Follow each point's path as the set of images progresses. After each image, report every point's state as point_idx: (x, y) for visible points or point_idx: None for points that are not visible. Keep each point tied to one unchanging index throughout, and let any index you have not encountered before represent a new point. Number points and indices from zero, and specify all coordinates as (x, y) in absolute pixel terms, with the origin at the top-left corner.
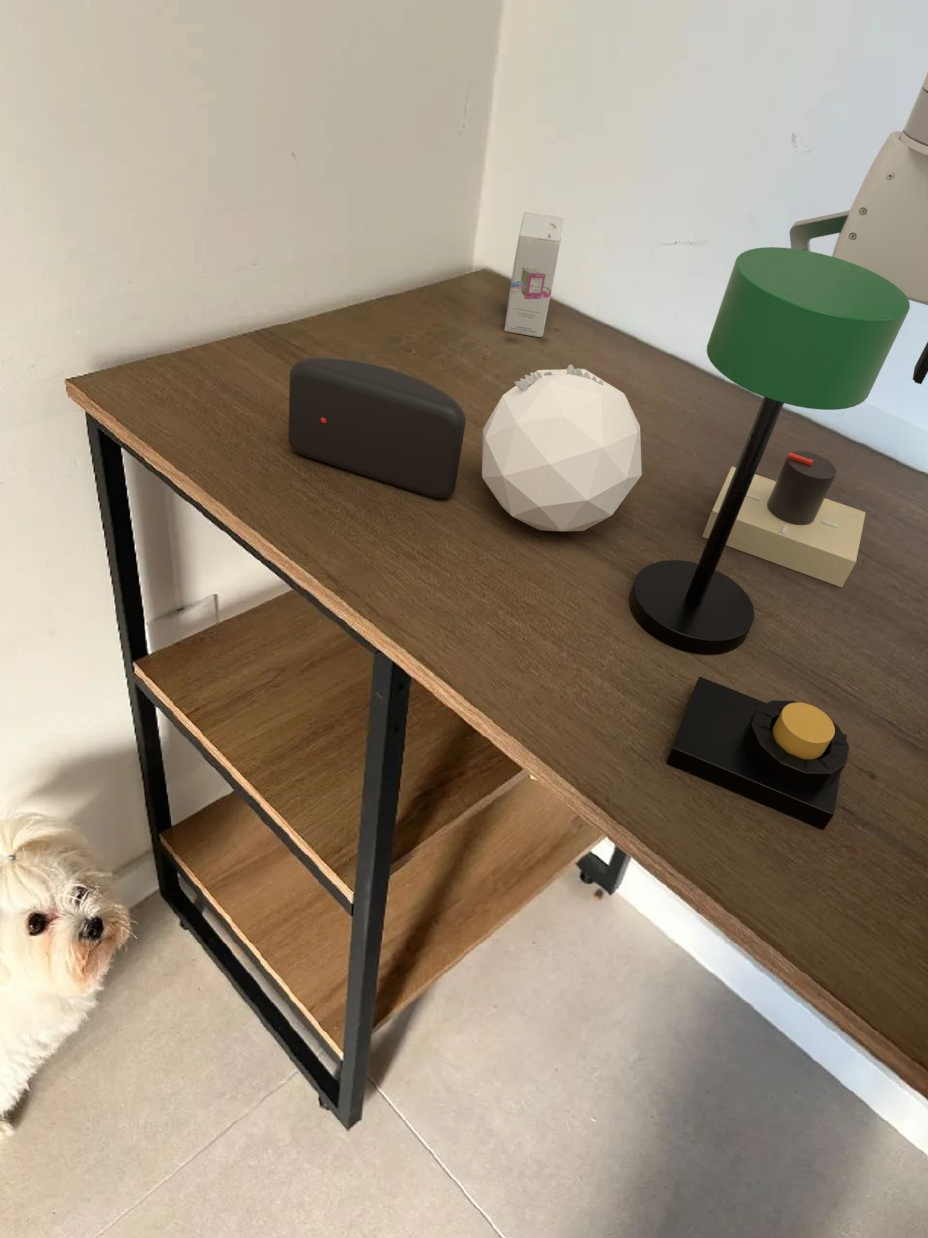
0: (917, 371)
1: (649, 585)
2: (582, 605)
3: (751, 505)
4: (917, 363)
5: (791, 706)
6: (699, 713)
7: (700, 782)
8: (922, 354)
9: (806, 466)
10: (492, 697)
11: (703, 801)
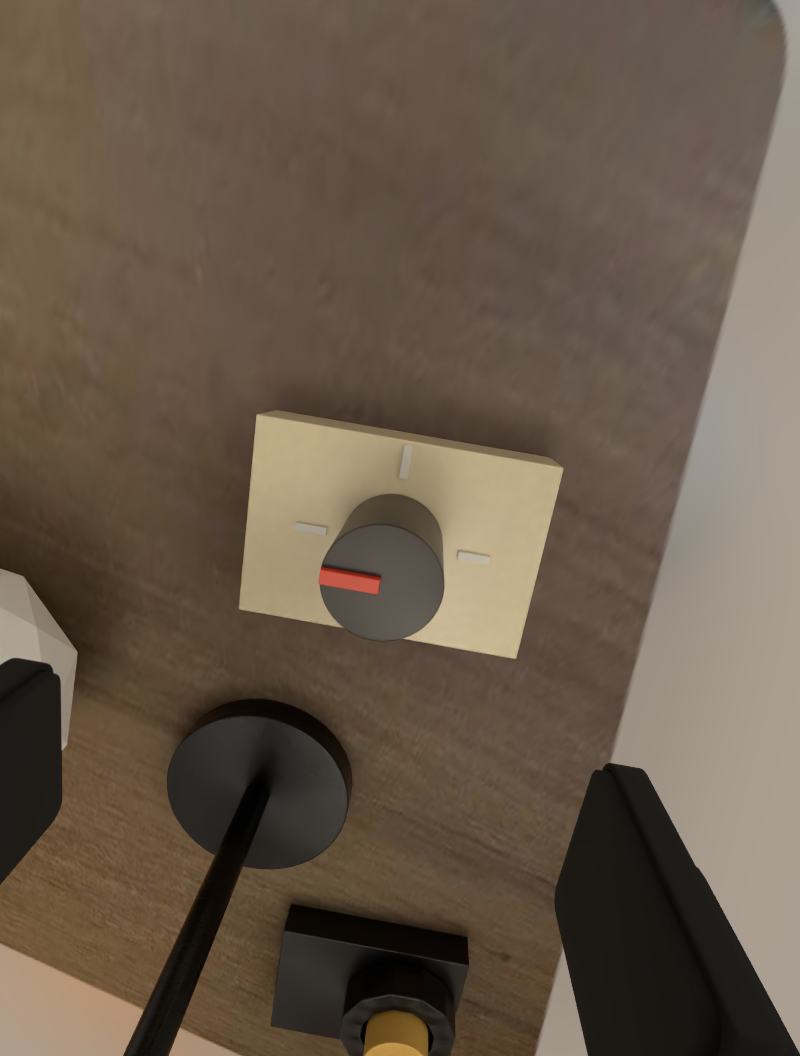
0: (564, 942)
1: (189, 792)
2: (127, 808)
3: (311, 557)
4: (596, 819)
5: (374, 1051)
6: (291, 981)
7: None
8: (608, 885)
9: (367, 600)
10: (86, 966)
11: None
